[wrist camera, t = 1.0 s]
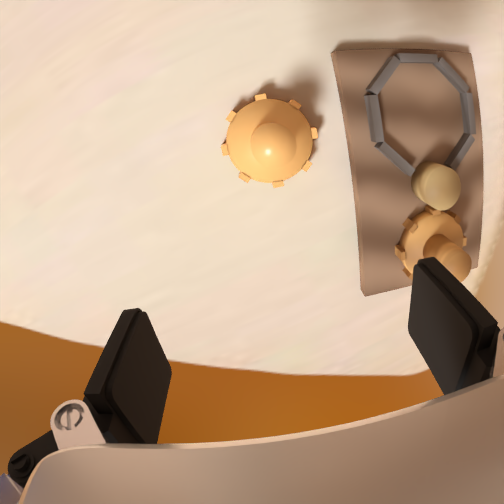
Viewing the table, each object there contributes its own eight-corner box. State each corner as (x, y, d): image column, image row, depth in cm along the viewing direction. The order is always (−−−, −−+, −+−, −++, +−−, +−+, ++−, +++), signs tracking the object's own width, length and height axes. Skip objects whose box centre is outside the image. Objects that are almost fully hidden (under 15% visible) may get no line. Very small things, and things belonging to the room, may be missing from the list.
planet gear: (213, 105, 26) (204, 103, 21) (305, 88, 25) (319, 82, 20) (233, 191, 29) (229, 211, 24) (320, 175, 29) (337, 190, 23)
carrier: (330, 53, 24) (357, 36, 17) (462, 54, 23) (508, 49, 16) (360, 289, 34) (384, 331, 27) (470, 261, 33) (505, 292, 26)
